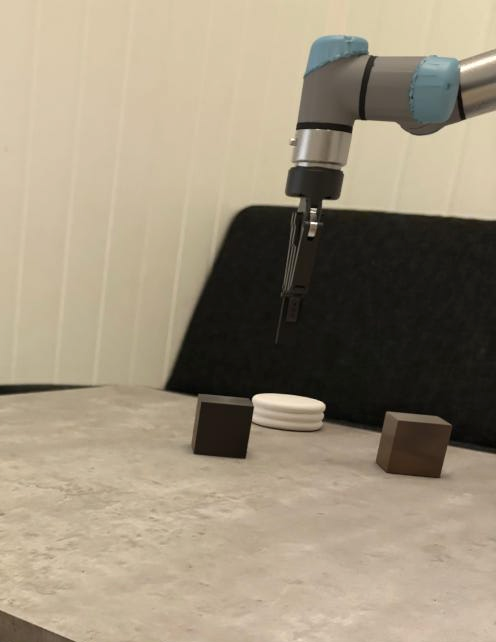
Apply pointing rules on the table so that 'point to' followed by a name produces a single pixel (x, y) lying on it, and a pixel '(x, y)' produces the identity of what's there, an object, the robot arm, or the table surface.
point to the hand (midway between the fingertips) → (285, 344)
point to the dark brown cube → (222, 426)
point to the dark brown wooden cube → (413, 444)
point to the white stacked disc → (288, 412)
